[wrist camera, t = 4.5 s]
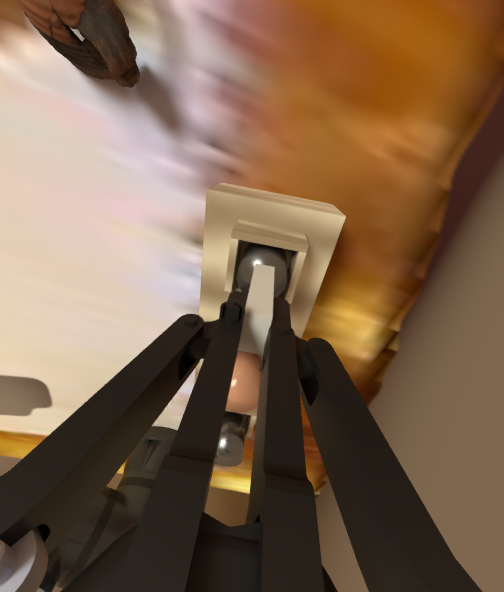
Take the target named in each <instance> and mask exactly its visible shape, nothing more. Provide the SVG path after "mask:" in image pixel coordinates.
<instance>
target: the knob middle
mask: <svg viewBox="0 0 504 592" xmlns="http://www.w3.org/2000/svg"><path fill="white" fill-rule="evenodd" d="M261 363H262V361H261V359H260V357H259V356H258V355H257V354H254V353H248V352H243V351H238V352H237V357H236V362H235V367H234V371H233V376H232V381H231V386H230V391H229V395H228V400H227V405H226V409H227V410H229V411H232V412H238V413H245V412H249V411H252V410H254V409H255V408H256V407H257V406H258V397H259V386H260V375H261V372H260V371H259V370H260V366H261Z"/></svg>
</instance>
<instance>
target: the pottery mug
mask: <svg viewBox="0 0 504 592" xmlns="http://www.w3.org/2000/svg"><path fill="white" fill-rule="evenodd" d="M15 1H16V2H17V4H18V5H19V6H20V7H21V8H22V10H23V11H24V13H25V15H26V16H27V17H28V18H29V20H30V22H31V23H32V24H33V26H34V27H35V28H36V29H37V30H38V31H39V32H40V34H41V35H42V36H43V37H44V38H45V39H46V40H47V41H48V42H49V44H51V45H52V46H53V47H54V49H55V50H56V51H57V52H59V53H60V54H62V55H63V56H64V57H65V58H67V59H68V60H69V61H70V62H71V63H72V64H73V65H74V66H75V67H76V68H78V69H79V70H81V71H82V72H84V73H85V74H88V75H90V76H92V77H95V78H98V79H115V80H116V81H117V82H118V83H119V85H121V86H122V87H130V88H132V87H133V86H134V85H135V84H136V83H138V81H139V77H140V72H139V69H138V66H137V64H136V61H135V60H136V56H137V52H136V48H135V46H134V44H133V42H132V40H131V38H130V37H129V30H128V27H127V25H126V23H125V19H124V16H123V14H122V12H121V11H120V10H119V9H118V7H117V6H116V5H115V4H114V3H113V1H112V0H15ZM70 28H72V29H78V30H79V32H80V34H81V35H82V36H83V37H84V38H85V39H84V40H83V42H82V41H81V40H80V39H79V38H78V37H77V36H76V35H75V33H74V32H73V31H72V30H71V29H70Z"/></svg>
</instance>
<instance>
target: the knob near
mask: <svg viewBox="0 0 504 592" xmlns="http://www.w3.org/2000/svg"><path fill="white" fill-rule="evenodd" d="M255 263H257V264H262V265H267V266H272V267H275V272H274V296H273V297H274V298H276V297H277V296H279V295H280V294H281V293H282V292H283V291H284V289H285V287H286V285H287V265H286V254H285V251H284V249H283V248H279V247H274V246H269V245H264V244H258V243H253V242H251V243H250V244H249V245H248V246H247V248H246V250H245V252H244V255H243V258H242V261H241V263H240V266H239V269H238V272H237V283H238V286H239V288H240V289H241V291H242V292H245V293H249V289H250V285H251V280H252V276H253V271H254V267H255Z"/></svg>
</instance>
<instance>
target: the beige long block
mask: <svg viewBox="0 0 504 592" xmlns="http://www.w3.org/2000/svg"><path fill="white" fill-rule="evenodd" d="M345 218H346V216H345V215H344V214H343V213H341V212H340V211H339V210H338V209H337V208H336V207H335V206H334V205H333V204H328V203H323V202H318V201H313V200H308V199H303V198H298V197H293V196H288V195H283V194H278V193H273V192H267V191H262V190H257V189H252V188H247V187H242V186H237V185H232V184H227V183H220V184H217V185H215V186H213V187H211V188H209V189H207V197H206V213H205V229H204V244H203V260H202V276H201V292H200V308H199V316H200V317H202V318H203V320H204V322H206V321H215V320H217V319H219V314H220V306H221V304H222V303H224V302H227V300H228V297H229V294H230V293H231V292H233V291H234V290H235V291H240V292H242V291H241V289H240V288H239V286H238V283H237V272H238V269H239V266H240V263H241V261H242V258H243V255H244V252H245V250H246V248H247V246H248V245H249V244H250V243H251V242H253V243H258V244H264V245H269V246H274V247H279V248H283V249H284V251H285V254H286V265H287V285H286V287H285V289H284V291H283V292H282V293H281V294H280V295H279V296H277V297H276V298H279V299H284V300H287V302H288V303H289V304H290V316H291V328H292V329H293V330H294V332H295V335H296V336H297V337H299V338H302V336H303V333H304V330H305V327H306V325H307V322H308V319H309V316H310V314H311V311H312V308H313V306H314V303H315V300H316V297H317V295H318V292H319V289H320V286H321V284H322V281H323V278H324V275H325V273H326V270H327V267H328V264H329V262H330V259H331V256H332V254H333V251H334V248H335V245H336V243H337V240H338V237H339V234H340V232H341V229H342V226H343V223H344V221H345ZM257 355H258V356H259V357H260V359H261V361H262V359H263V355H264V352H263V355H259V354H257ZM203 360H204V359H201V360H200V362H199V363H198V365H197V366H196V371H195V382H196V379H197V377H198V374H199V371H200V368H201V366H202V363H203ZM257 408H258V406H257V407H256V408H255V409H254V410H252V411H249V412H245V413H238V412H234V413H238V414H240V415H241V416H243V417H244V418H245V419H246V431H245V438H246V439H250V437H251V434H252V431H253V427H254V424H256V419H257ZM225 412H232V411H229V410H227V409H226V410H225Z"/></svg>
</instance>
